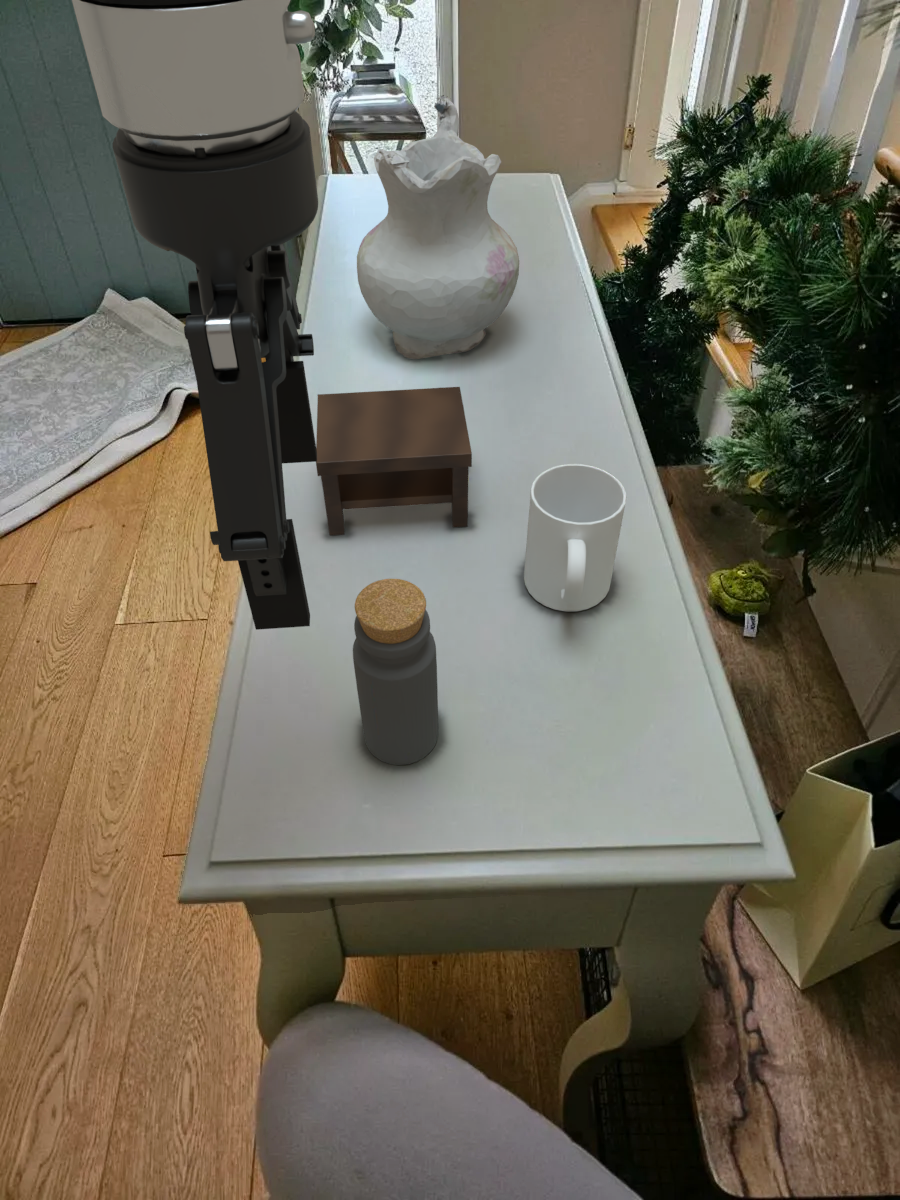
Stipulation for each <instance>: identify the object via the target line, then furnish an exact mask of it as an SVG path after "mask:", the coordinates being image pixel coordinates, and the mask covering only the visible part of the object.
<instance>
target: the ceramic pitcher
mask: <svg viewBox="0 0 900 1200" xmlns="http://www.w3.org/2000/svg"><path fill="white" fill-rule="evenodd" d="M433 108H434V109H435V110H436V112H437V119H436V130H437V131H436V132H435V133H434V134H433V136H431V137H429V138H428V137H427V138H423V139H419V140H414V141H410V142H409V143H407V144H406V145H405V146H403V147H402V148H401V150H397V149H396V150H395V149H394V150H386V149H383V148H379V149H377V152H376V154H375V155H374V157H373V162H374V163H373V164H374V166H375V171H376V173H377V175H378V177H379V180H380V181H381V184H382V187H383V189H384V193H385V196H386V202H387V214H386V216H385V217H384V218H383V219H382V220H381V221H379V222H378V223H377V224H376V225H375V226H374V227H373V228H372V229H370V230H369V231H368V232H367V233H366V235H364V237H363V238H362V240H361V242H360V244H359V247H358V251H357V253H356V254H357V255H356V273H357V282H358V285H359V286H358V287H359V289H360V290H359V291H360V294H361V295H362V298H363V299H364V302H365V304H366V306H367V307H368V309H369V310H370V312H371V313H372V315H373V316H374V317H375V318H376V319H377V320H378V322H380V323H381V324H382V325H384V326H385V327H386V328H387V329H388V330H390V331H392V339H393V343H394V346H395V350H396V351H397V352H398V353H399V354H401V355H402V356H403V357H404V358H406V359H411V360H419V359H422V360H423V359H427V358H433V357H437V356H438V357H440V356H445V355H452V354H460V353H466V352H469V351H471V350H473V349H474V348H476V347H477V346H479V345H480V344H481V342H483V340H484V338H485V337H486V335H487V333H486V330H485V329H486V328H488V327H489V326H490V325H492V324H493V323H494V322H495V321H497V319H498V318H499V317H500V316H501V315H502V313H503V312H504V311H505V309H506V308H507V307H508V305H509V303H510V301H511V300H512V297H513V295H514V292H515V290H516V287H517V283H518V279H519V276H520V275H519V274H520V256H519V252H518V247H517V245H516V244H515V242H514V240H513V239H512V237H511V236H510V235H509V233H508V232H507V231H506V230H505V229H504V228H503V227H502V226H501V225H500V224H499V223H497V221H495V219H493V218H492V217H491V215H490V213H489V210H488V209H489V208H488V201H489V194H490V191H491V187H492V184H493V182H494V179H495V177H496V175H497V174H498V172H499V170H500V167H501V164H502V160H501V158H500V155H499V154H495V153H491V154H490V155H489V156H487V157H486V158H485V156H484V154H483V152H481V151H480V150H479V148H477V147H476V146H475V145H473V144H471V143H468V142H466V141H464V140H463V139H462V138H460V137H459V132H460V131H459V130H460V117H459V113H458V109H457V107H456V105H455V104H454V103H453V102H452V101H451V97H449V96H447V95H446V96H445V94H443V95H440V96H437V99H436V102H434V105H433Z"/></svg>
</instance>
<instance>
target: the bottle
mask: <svg viewBox="0 0 900 1200" xmlns="http://www.w3.org/2000/svg"><path fill="white" fill-rule="evenodd" d="M426 599H427V598H426V596H425V594H424V592H423V591H422V589H421V588H420V587H419V586H417V585H416V584H415V583H413V582H410V581H408V580H406V579H401V578H384V579H380V580H376V581H373V582H371V583H369V584H368V585H366V586H365V587H363V588H362V589H361V591H360V592H359V593H358V595H357V596H356V598H355V601H354V612H355V615H356V616H355V619H354V623H353V624H354V626H353V627H354V635H355V639H354V642H353V645H352V661H353V667H354V668H353V669H354V676H355V683H356V692H357V698H358V705H359V706H358V707H359V711H360V720H361V727H362V731H363V738H364V741H365V744H366V747H367V749H368V751H369V752H370V753H371V754H372V756H373V757H374V758H376V759H378V760H379V761H381V762H383V763H386V764H390V765H393V766H394V765H395V766H405V765H411V764H413V763H416V762H419V761H421V760H423V759H424V758H425V757H427V756H428V755H429V754H430V753H431V752H432V751H433V750H434V748H435V746H436V744H437V741H438V737H439V698H438V697H439V695H438V693H439V692H438V662H437V661H438V659H437V645H436V641H435V638H434V636H433V635H434V634H432V632H431V618H430V615H429V612H428V611H427V609H426V608H427V600H426Z"/></svg>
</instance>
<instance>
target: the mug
mask: <svg viewBox="0 0 900 1200" xmlns="http://www.w3.org/2000/svg"><path fill="white" fill-rule="evenodd" d="M626 502H627V493H626V488H625V487H624V485H623V484H622V482H621V481H620V480H619V479H618V478H617V477H615V476H614V475H613V474H612V473H610V472H609V471H606V470H604V469H603V468H599V467H596V466H593V465H589V464H583V463H565V464H561V465H555V466H552V467H550V468H548V469H545V470H543V472H541V473H539V474H538V475H537V476H536V478H535V479H534V480H533V482H532V484H531V487H530V494H529V507H528V518H527V519H528V521H527V531H526V543H525V558H524V569H523V580H524V581H523V583H524V585H525V587H526V589H527V591H528V593H529V594H530V596H532V598H533V599H534V600H535V601H536V602H538V603H540V604H541V605H543V606H545V607H547V608H550V609H552V610H555V611H560V612H581V611H585V610H589V609H591V608H593V607H595V606H597V605H598V604H599V603H600V602H602V601H603V600H604V599H605V598H606V596H607V595H608V594H609V591H610V589H611V583H612V578H613V573H614V567H615V562H616V558H617V557H616V555H617V552H618V551H617V550H618V546H619V542H620V541H619V540H620V535H621V530H622V524H623V519H624V513H625V508H626Z"/></svg>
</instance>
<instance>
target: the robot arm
mask: <svg viewBox="0 0 900 1200" xmlns="http://www.w3.org/2000/svg"><path fill="white" fill-rule="evenodd" d="M71 2H72V3H71V4H72V6H73V10H74V14H75V17H76V21H77V25H78V29H79V33H80V36H81V40H82V44H83V47H84V51H85V55H86V59H87V63H88V66H89V70H90V73H91V79H92V82H93V85H94V88H95V92H96V96H97V100H98V104H99V107H100V112H101V115H102V117H103V118H104V119H105V120H106V121H108V123H110V125H112V126H114V127H115V128H117V129H118V130H117V131H116V134H115V137H114V139H113V141H112V150H113V154H114V157H115V161H116V165H117V169H118V172H119V177H120V180H121V183H122V187H123V190H124V194H125V197H126V201H127V205H128V209H129V213H130V216H131V220H132V223H133V226H134V227H135V229H136V231H137V232H138V233H139V234H140V236H141V237H142V238H143V239H144V240H145V241H147V242H148V243H149V244H150V245H151V244H152V245H153V246H155V247H157V248H158V249H161V250H163V251H167V252H174V253H176V254H179V255H181V256H182V257H185V258H187V259H188V260H190V261H191V262H192V263H194V265H195V271H196V278H197V280H189V281H188V284H187V292H188V293H187V294H188V303H189V312H190V315H189V314H188V315H187V316H185V323H184V324H185V325H184V326H183V332H184V338H185V339H186V340H187V344H188V349H189V353H190V358H191V362H192V367H193V371H194V374H195V375H194V376H195V379H196V386H197V387H196V388H197V394H198V401H199V408H200V409H199V410H200V416H201V422H202V429H203V438H204V443H205V450H206V457H207V465H208V472H209V478H210V485H211V493H212V500H213V507H214V513H215V521H216V528H217V530H213V531H209V535H210V540H211V543H212V545H213V546H217V547H218V552H219V554H220V558H221V559H222V561H223V562H236V561H237V563H238V566H239V571H240V575H241V579H242V582H243V586H244V591H245V594H246V598H247V601H248V606H249V609H250V612H251V617H252V621H253V623H254V628H255V630H271V629H273V630H274V629H286V628H287V629H288V628H289V629H290V628H302V627H310V626H311V612H310V607H309V602H308V597H307V592H306V585H305V579H304V575H303V570H302V564H301V559H300V554H299V547H298V543H297V537H296V532H295V528H294V521H293V519H292V518H287V509H286V499H285V497H286V496H285V485H284V473H283V464H297V463H298V464H299V463H300V464H301V463H314V462H315V463H316V462H317V450H316V437H315V430H314V424H313V416H312V410H311V403H310V397H309V391H308V383H307V378H306V377H307V376H306V371H305V363H304V360H294V357H307V356H308V357H310V356H314V355H315V346H314V338H313V333H304V334H303V333H301V334H300V333H299V331H298V330H300V329H301V324H303V317H302V313H300V311H299V307H298V302H297V297H296V294H295V293H296V292H295V289H294V285H293V280H292V275H291V272H290V263H289V256H288V253H287V251H286V249H285V245H284V244H285V243H287V242H289V241H291V240H293V239H295V238H297V237H298V236H299V235H301V234H302V233H303V232H305V231H306V230H307V229H308V228H309V227H310V226H311V224H312V223H313V221H314V220H315V218H316V216H317V213H318V210H319V196H318V187H317V178H316V171H315V161H314V154H313V146H312V137H311V130H310V129H311V128H310V125H309V123H308V122H307V120H305V119H304V118H303V116H301V114H300V113H298V111H297V110H298V109H299V108H300V106H301V105H302V104H303V102H304V99H305V87H304V80H303V70H302V64H301V55H300V51H299V48H298V46H297V45H299V44H301V45H303V44H307V43H309V42H312V41H313V39H314V37H315V36H316V27H315V22H314V21H313V19H312V17H311V14H310V12H308V11H305V10H303V9H301V10H300V9H299V10H297V11H289V10H288V7H289V5H290V3H291V0H71ZM262 359H265V361H262Z"/></svg>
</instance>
